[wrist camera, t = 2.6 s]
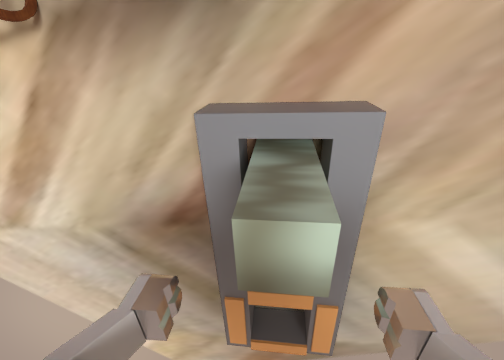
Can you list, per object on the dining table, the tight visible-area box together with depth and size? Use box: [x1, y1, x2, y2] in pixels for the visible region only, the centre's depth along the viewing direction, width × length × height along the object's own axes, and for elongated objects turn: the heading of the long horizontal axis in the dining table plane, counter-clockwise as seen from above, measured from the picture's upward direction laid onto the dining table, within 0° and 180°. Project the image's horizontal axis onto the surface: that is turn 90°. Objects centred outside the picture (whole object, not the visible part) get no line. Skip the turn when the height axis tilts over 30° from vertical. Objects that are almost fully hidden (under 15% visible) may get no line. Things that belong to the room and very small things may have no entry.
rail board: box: [194, 101, 386, 356], centre depth 24 cm, size 12×28×4 cm, turn 2°
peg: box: [232, 139, 341, 297], centre depth 16 cm, size 4×4×12 cm
